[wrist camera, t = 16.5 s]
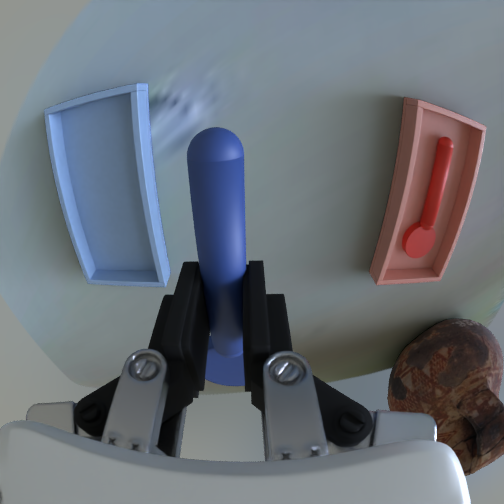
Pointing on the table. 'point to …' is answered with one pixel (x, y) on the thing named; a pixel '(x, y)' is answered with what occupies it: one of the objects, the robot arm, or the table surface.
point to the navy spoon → (220, 246)
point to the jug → (455, 388)
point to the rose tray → (416, 188)
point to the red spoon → (430, 204)
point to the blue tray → (109, 185)
